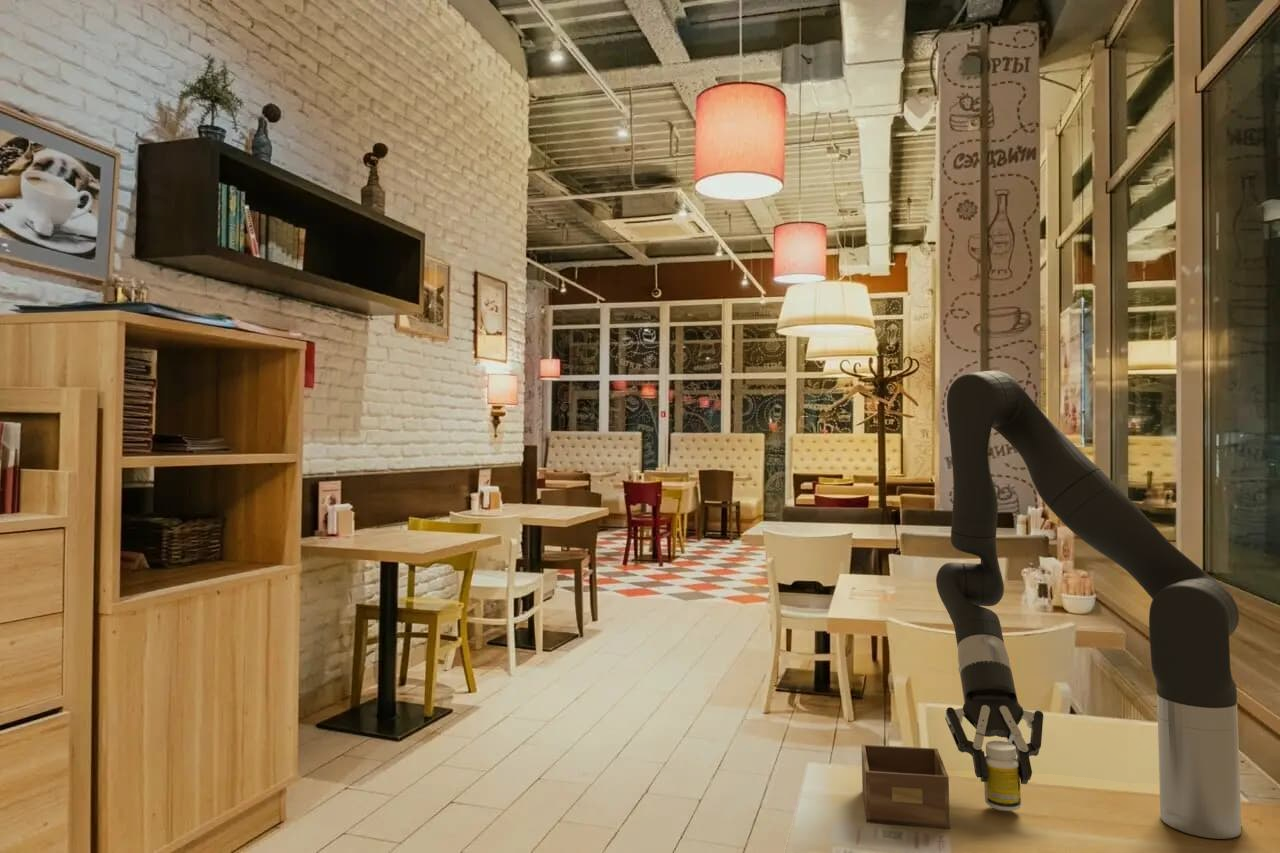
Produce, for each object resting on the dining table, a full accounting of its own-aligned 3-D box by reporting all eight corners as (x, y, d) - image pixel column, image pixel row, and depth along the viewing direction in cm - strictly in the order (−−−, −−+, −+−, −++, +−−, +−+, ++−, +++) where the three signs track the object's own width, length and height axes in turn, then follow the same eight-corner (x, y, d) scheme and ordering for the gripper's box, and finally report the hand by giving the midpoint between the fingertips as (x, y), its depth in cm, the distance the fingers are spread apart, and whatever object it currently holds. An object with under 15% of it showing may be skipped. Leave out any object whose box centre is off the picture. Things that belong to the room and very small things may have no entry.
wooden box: (862, 790, 129) (861, 744, 129) (938, 795, 126) (937, 748, 127) (866, 823, 118) (865, 772, 118) (949, 829, 116) (948, 777, 116)
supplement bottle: (1026, 811, 118) (1024, 751, 119) (992, 812, 119) (990, 751, 119) (1012, 797, 123) (1010, 739, 123) (980, 797, 123) (977, 739, 124)
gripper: (938, 657, 130) (953, 766, 118) (1038, 660, 127) (1064, 771, 115) (935, 682, 135) (949, 789, 123) (1031, 685, 132) (1055, 795, 120)
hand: (1004, 780), depth 119 cm, fingers closed on supplement bottle, 4 cm apart
